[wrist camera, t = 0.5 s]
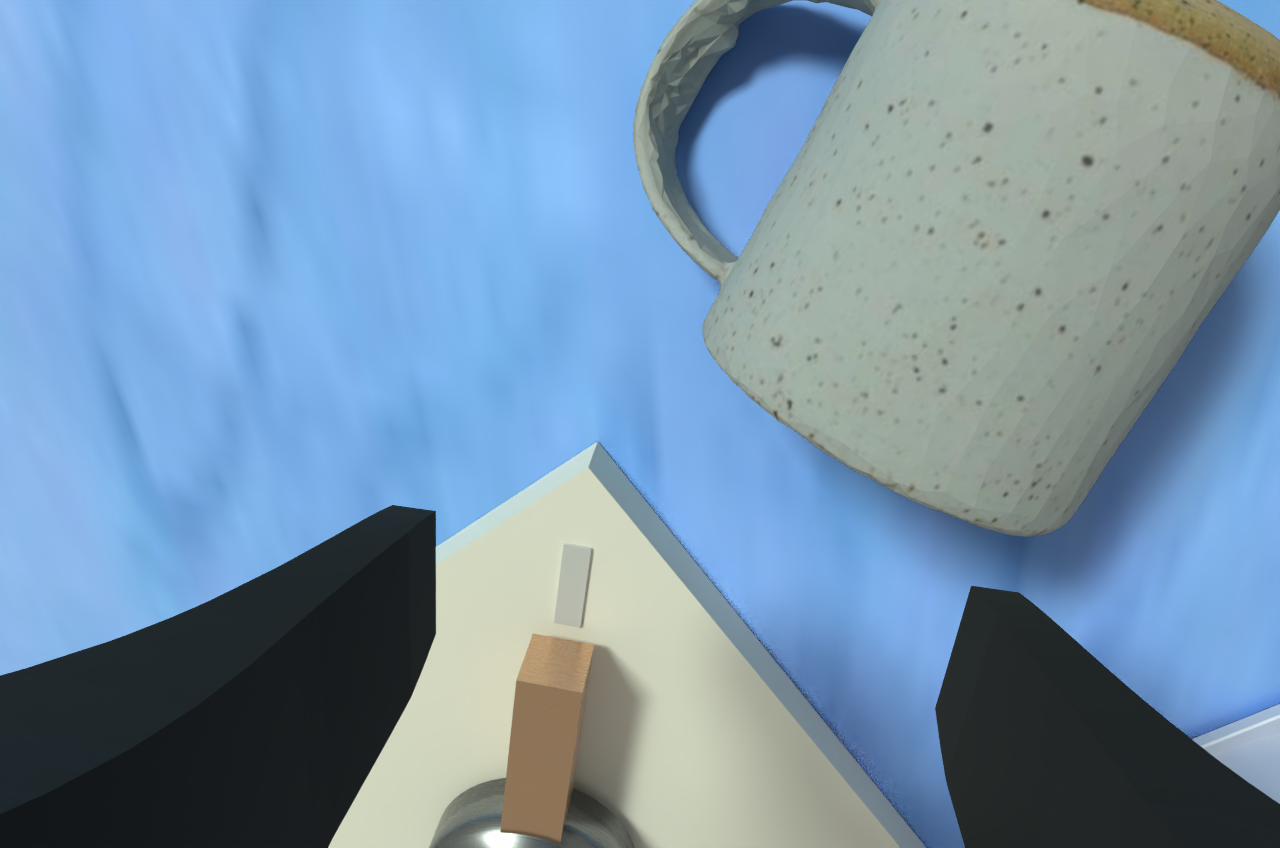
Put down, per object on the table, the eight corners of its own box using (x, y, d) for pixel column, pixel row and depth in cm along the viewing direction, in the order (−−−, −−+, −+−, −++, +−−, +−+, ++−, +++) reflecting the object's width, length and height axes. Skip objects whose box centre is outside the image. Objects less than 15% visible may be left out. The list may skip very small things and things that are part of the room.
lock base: (953, 881, 27) (965, 929, 25) (515, 1048, 33) (505, 1095, 31) (597, 441, 22) (587, 469, 21) (159, 727, 28) (127, 765, 26)
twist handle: (622, 941, 27) (613, 1006, 25) (432, 903, 27) (409, 965, 25) (679, 658, 22) (674, 713, 20) (450, 615, 22) (424, 665, 21)
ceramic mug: (1218, 89, 18) (1523, 115, 11) (994, 426, 21) (1113, 616, 14) (738, -138, 17) (723, -270, 10) (588, 245, 20) (498, 346, 13)
